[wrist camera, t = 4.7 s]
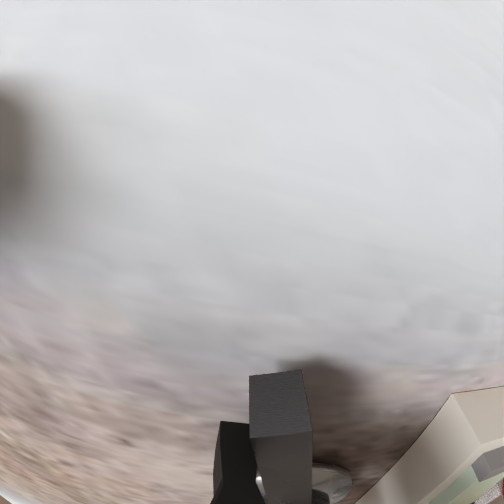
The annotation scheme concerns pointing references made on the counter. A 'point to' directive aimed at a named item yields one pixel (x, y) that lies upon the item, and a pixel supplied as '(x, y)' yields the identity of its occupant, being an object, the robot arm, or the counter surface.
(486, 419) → the level stand
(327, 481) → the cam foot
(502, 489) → the soda can
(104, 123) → the counter surface
